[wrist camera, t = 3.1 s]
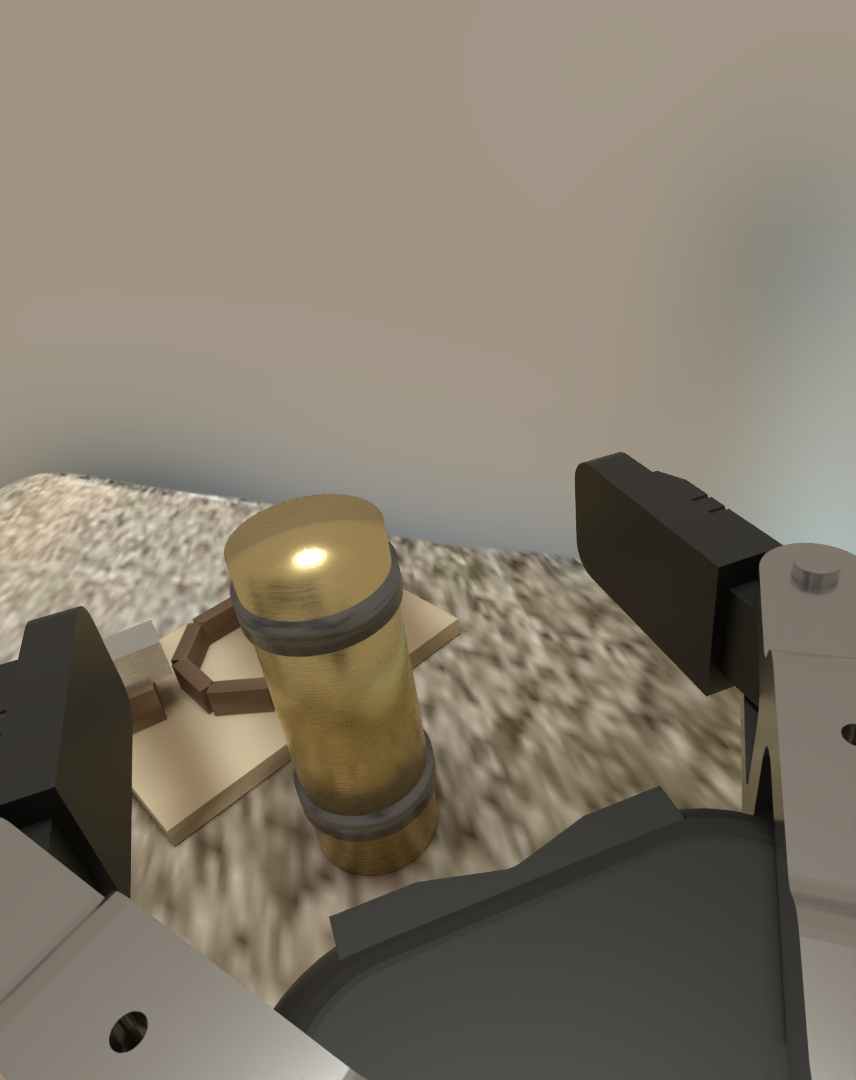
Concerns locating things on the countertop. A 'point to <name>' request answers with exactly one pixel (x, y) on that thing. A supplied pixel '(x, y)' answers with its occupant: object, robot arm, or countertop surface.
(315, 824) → the cylinder
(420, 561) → the countertop surface
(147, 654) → the pair of grey blocks
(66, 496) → the countertop surface
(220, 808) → the coupling base
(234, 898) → the countertop surface
